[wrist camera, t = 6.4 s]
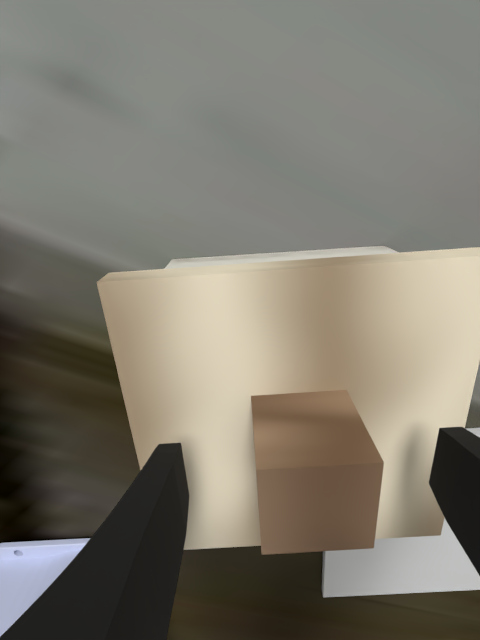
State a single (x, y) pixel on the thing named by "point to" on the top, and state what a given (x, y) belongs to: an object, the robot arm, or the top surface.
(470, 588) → the mat
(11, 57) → the top surface
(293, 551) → the lid
